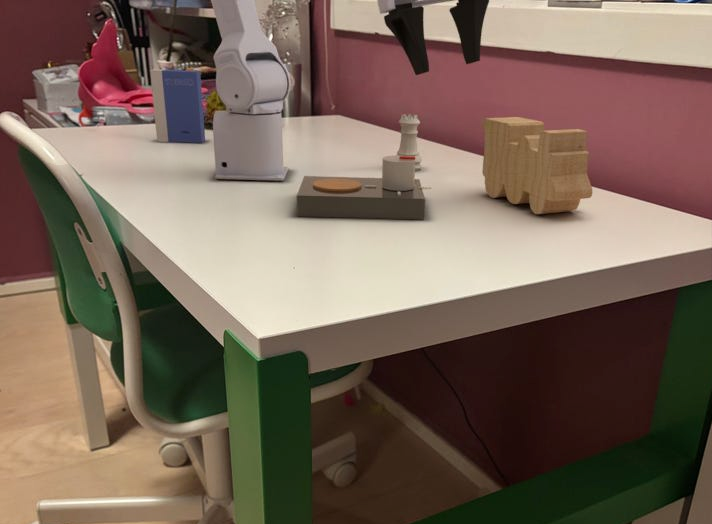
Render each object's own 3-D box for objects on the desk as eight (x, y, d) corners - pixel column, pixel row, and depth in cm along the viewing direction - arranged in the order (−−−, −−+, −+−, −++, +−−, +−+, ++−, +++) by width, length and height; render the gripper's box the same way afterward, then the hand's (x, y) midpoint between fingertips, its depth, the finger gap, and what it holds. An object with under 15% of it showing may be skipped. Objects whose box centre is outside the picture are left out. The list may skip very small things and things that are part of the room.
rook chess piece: (419, 172, 113) (421, 118, 109) (390, 170, 114) (392, 116, 110) (424, 167, 117) (426, 114, 113) (396, 165, 118) (398, 112, 114)
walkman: (205, 140, 132) (200, 68, 127) (201, 143, 129) (196, 69, 124) (160, 139, 132) (153, 66, 126) (156, 141, 129) (149, 67, 124)
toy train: (553, 221, 89) (563, 135, 85) (476, 191, 103) (482, 116, 98) (588, 217, 91) (601, 134, 87) (509, 188, 105) (516, 115, 101)
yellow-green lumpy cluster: (178, 127, 144) (173, 74, 139) (210, 117, 158) (206, 68, 154) (263, 133, 141) (260, 79, 137) (288, 122, 156) (286, 73, 151)
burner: (311, 190, 88) (311, 188, 88) (314, 180, 94) (314, 177, 94) (361, 192, 89) (361, 189, 88) (361, 181, 94) (361, 179, 94)
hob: (297, 216, 87) (296, 193, 86) (304, 195, 97) (303, 174, 96) (433, 220, 88) (434, 197, 87) (426, 198, 98) (427, 178, 97)
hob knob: (382, 190, 90) (382, 158, 88) (381, 183, 93) (382, 152, 92) (415, 191, 90) (416, 159, 88) (413, 184, 93) (414, 153, 92)
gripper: (388, -61, 79) (416, 72, 83) (494, -73, 85) (515, 51, 89) (358, -41, 85) (385, 82, 89) (459, -54, 91) (480, 62, 95)
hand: (448, 68), depth 89 cm, fingers open, 7 cm apart
